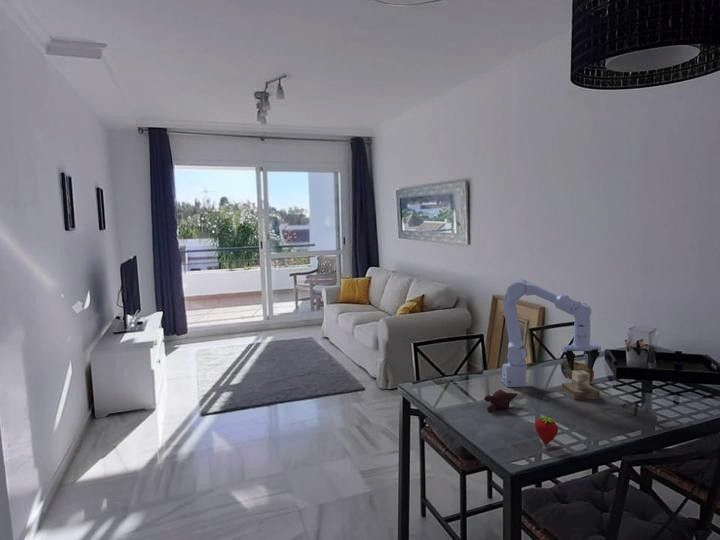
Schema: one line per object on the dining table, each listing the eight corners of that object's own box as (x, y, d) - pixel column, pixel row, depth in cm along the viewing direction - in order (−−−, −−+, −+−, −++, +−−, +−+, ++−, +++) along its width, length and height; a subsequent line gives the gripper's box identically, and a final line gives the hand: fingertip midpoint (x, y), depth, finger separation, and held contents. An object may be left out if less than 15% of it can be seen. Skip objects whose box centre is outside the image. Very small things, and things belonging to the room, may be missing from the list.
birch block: (577, 389, 181) (578, 374, 181) (571, 385, 186) (572, 370, 185) (589, 389, 181) (589, 374, 181) (582, 385, 186) (583, 370, 185)
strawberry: (544, 437, 149) (545, 406, 148) (562, 447, 142) (563, 415, 141) (529, 440, 147) (530, 409, 146) (547, 451, 140) (547, 419, 139)
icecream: (508, 384, 179) (477, 394, 173) (522, 385, 172) (490, 395, 166) (512, 402, 178) (481, 413, 172) (526, 404, 172) (494, 415, 166)
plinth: (573, 399, 179) (574, 392, 179) (561, 390, 189) (561, 383, 188) (599, 398, 179) (599, 391, 179) (585, 389, 189) (586, 382, 189)
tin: (560, 376, 206) (560, 357, 205) (565, 375, 208) (565, 356, 207) (589, 386, 193) (590, 366, 192) (595, 385, 194) (595, 365, 193)
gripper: (568, 338, 177) (567, 372, 179) (605, 337, 178) (604, 371, 179) (559, 333, 184) (559, 367, 186) (595, 332, 185) (594, 366, 186)
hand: (580, 368), depth 183 cm, fingers open, 7 cm apart
